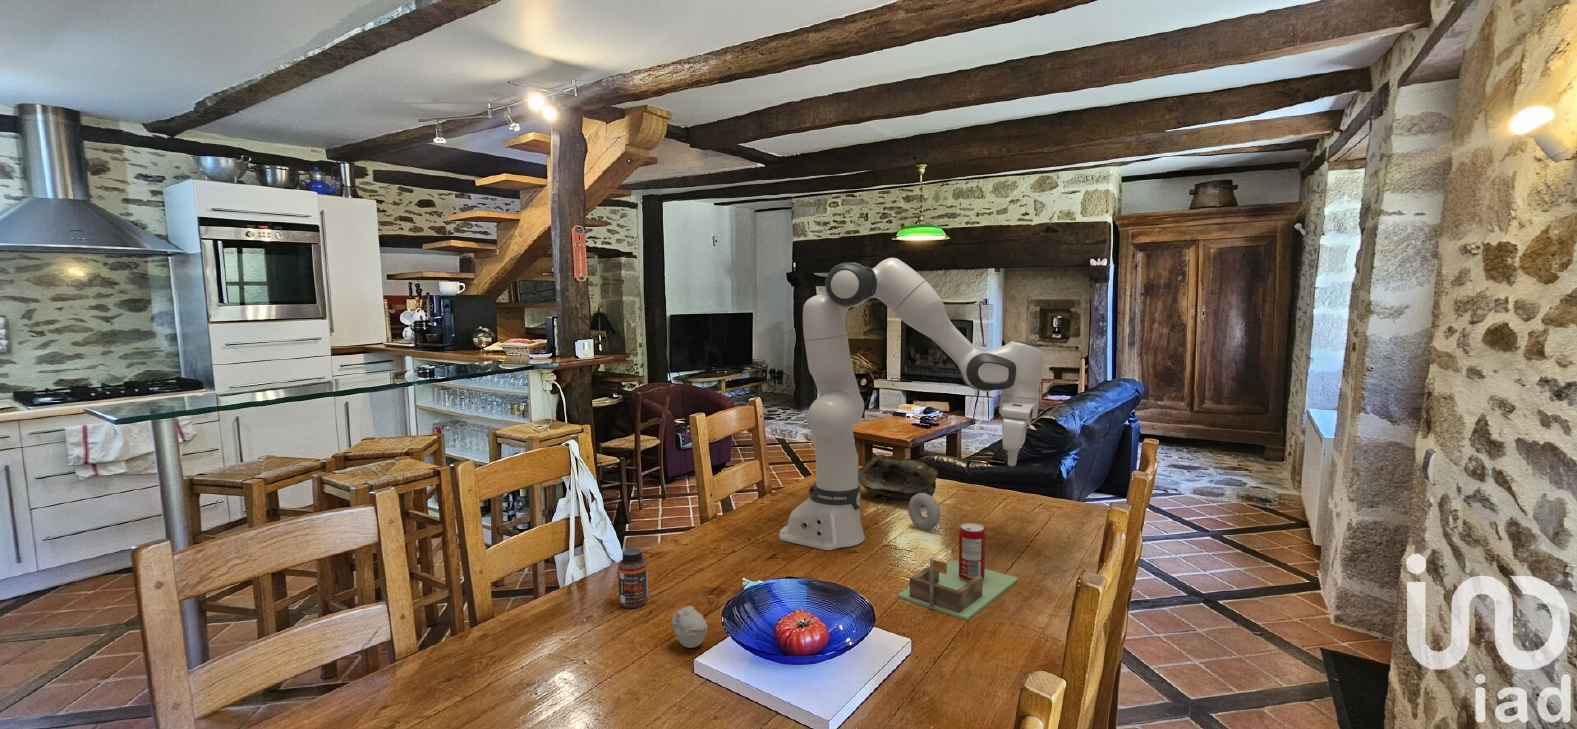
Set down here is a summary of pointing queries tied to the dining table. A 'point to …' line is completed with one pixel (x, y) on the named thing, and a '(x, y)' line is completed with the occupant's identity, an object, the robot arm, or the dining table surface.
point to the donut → (932, 511)
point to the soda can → (971, 551)
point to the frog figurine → (689, 627)
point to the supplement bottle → (632, 579)
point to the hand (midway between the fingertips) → (1011, 465)
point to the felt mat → (991, 584)
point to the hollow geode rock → (897, 477)
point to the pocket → (943, 589)
